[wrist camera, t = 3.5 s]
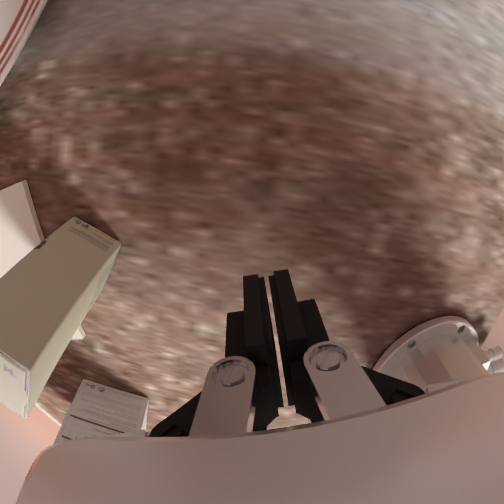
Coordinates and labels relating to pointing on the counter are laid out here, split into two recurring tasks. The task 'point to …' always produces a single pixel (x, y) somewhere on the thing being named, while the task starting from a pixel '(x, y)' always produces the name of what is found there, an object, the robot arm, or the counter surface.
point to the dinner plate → (16, 29)
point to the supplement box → (102, 412)
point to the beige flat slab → (19, 230)
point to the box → (48, 306)
